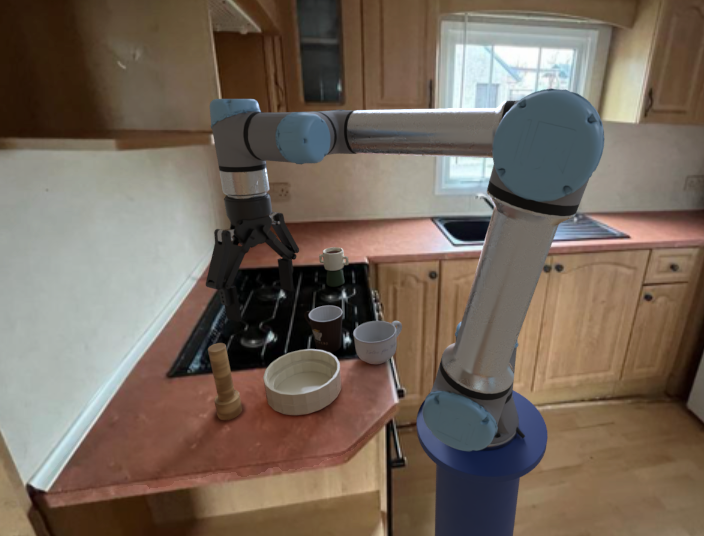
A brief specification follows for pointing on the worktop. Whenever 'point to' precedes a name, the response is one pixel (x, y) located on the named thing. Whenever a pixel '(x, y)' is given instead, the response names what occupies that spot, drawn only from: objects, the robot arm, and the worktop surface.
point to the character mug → (334, 265)
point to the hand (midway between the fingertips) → (262, 303)
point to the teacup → (376, 341)
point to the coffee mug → (326, 327)
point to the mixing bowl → (302, 381)
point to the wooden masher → (224, 384)
